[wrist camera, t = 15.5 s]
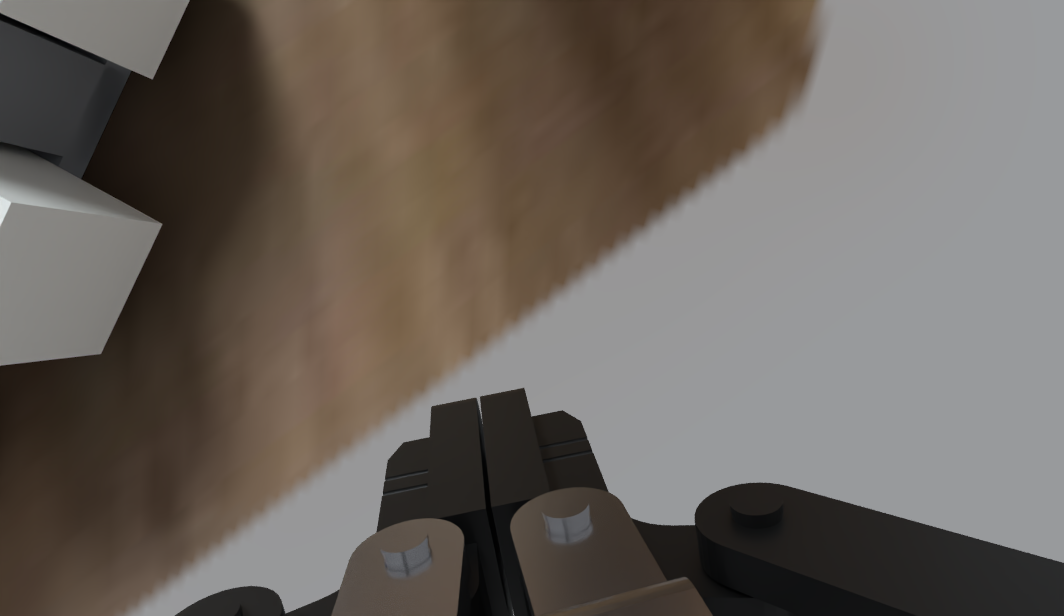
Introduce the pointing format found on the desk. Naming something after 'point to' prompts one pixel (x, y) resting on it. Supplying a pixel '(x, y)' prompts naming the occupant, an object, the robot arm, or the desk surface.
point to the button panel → (54, 95)
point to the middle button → (62, 259)
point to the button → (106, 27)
